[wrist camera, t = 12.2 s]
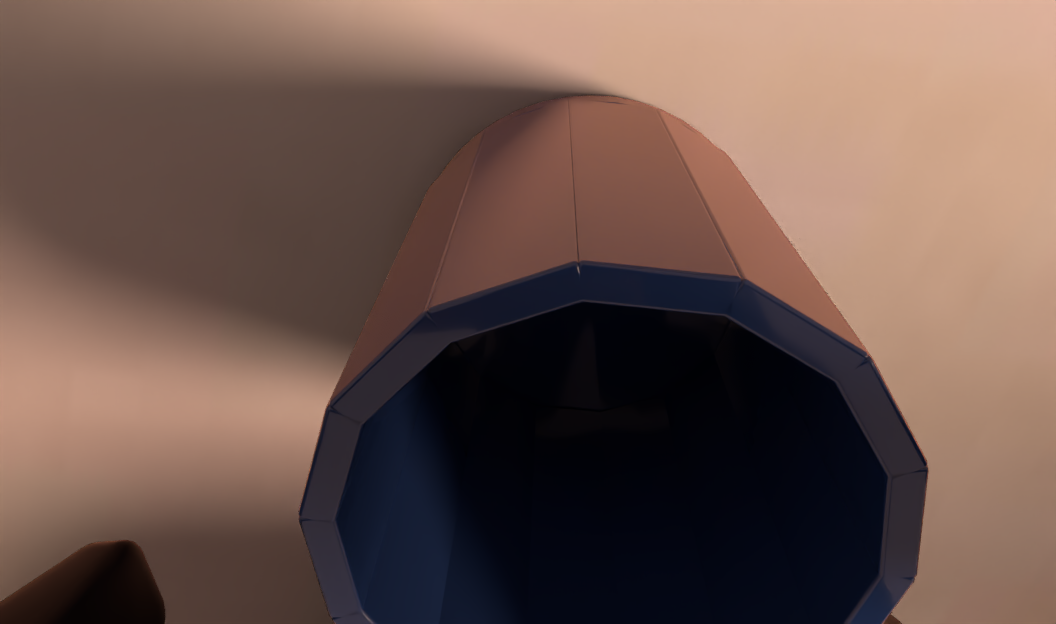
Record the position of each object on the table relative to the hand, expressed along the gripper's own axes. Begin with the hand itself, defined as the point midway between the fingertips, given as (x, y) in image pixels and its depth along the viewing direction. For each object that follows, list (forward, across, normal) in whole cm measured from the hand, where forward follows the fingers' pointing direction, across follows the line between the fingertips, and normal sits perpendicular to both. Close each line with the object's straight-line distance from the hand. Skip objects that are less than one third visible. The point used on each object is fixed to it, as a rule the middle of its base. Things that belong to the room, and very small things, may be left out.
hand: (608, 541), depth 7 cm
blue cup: (+6, 0, 0) cm, 6 cm away
